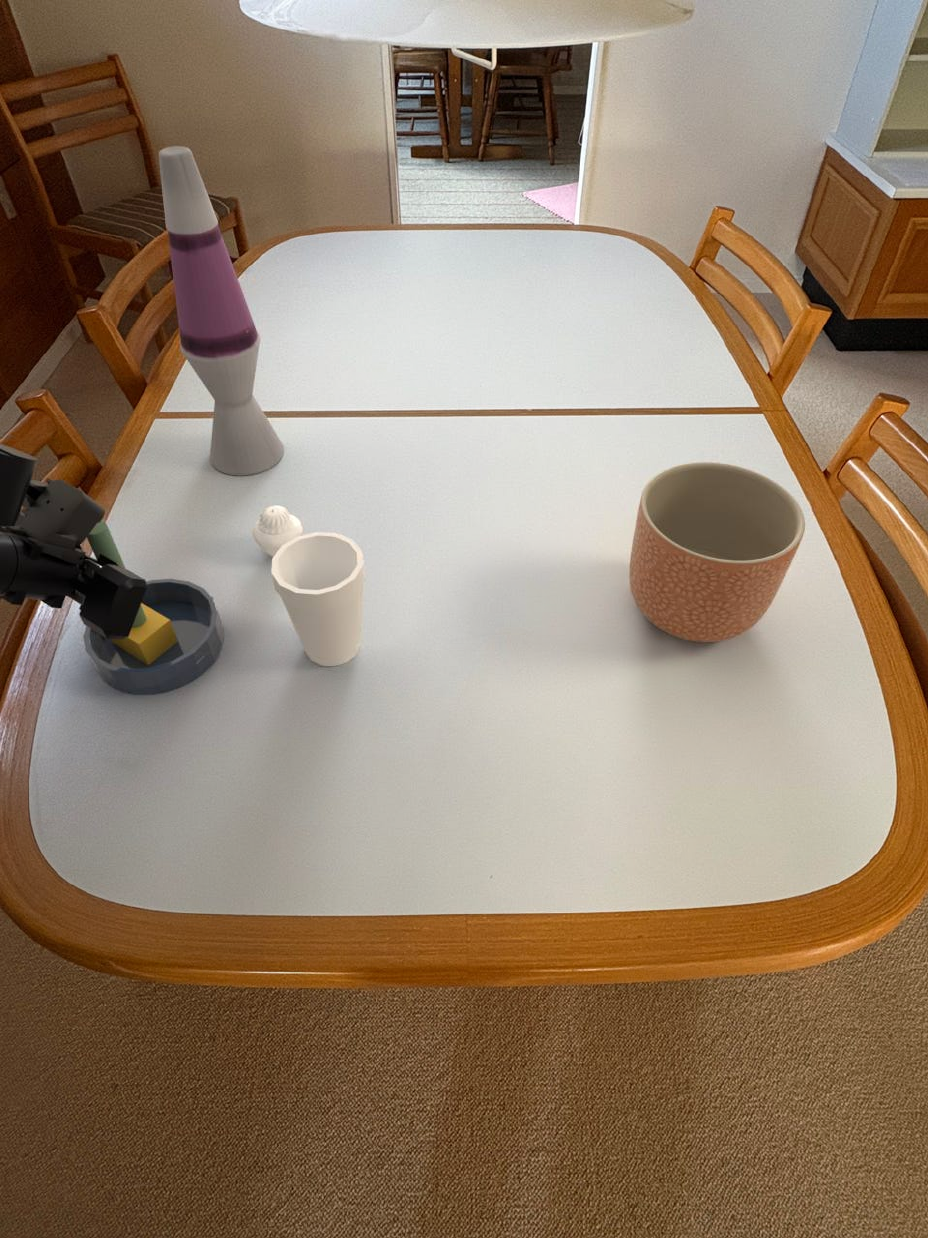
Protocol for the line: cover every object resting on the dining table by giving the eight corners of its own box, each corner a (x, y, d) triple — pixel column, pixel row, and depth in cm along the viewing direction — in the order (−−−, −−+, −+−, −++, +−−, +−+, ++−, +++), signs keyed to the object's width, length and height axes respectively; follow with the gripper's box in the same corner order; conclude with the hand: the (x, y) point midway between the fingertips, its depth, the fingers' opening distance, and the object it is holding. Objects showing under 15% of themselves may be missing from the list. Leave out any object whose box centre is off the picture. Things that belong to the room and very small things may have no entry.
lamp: (205, 441, 118) (120, 140, 89) (277, 427, 120) (217, 130, 91) (215, 482, 111) (126, 171, 82) (290, 467, 113) (230, 159, 84)
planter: (794, 618, 93) (839, 518, 82) (698, 686, 86) (733, 587, 75) (685, 542, 102) (712, 443, 91) (590, 598, 95) (607, 498, 84)
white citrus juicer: (312, 538, 103) (304, 495, 98) (298, 570, 99) (289, 527, 93) (266, 533, 103) (256, 491, 98) (251, 565, 99) (239, 522, 94)
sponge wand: (148, 665, 87) (96, 551, 75) (112, 643, 90) (56, 528, 77) (178, 641, 90) (133, 526, 77) (143, 620, 92) (93, 505, 80)
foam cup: (352, 686, 86) (339, 603, 76) (277, 665, 88) (254, 582, 78) (385, 625, 92) (377, 542, 83) (314, 607, 94) (297, 524, 85)
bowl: (104, 712, 84) (91, 690, 81) (89, 623, 92) (77, 600, 90) (236, 669, 88) (229, 647, 85) (210, 588, 96) (202, 565, 94)
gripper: (95, 517, 65) (221, 544, 80) (-37, 444, 72) (101, 481, 87) (49, 638, 67) (182, 644, 81) (-76, 555, 74) (67, 574, 88)
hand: (132, 581), depth 84 cm, fingers closed on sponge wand, 2 cm apart
